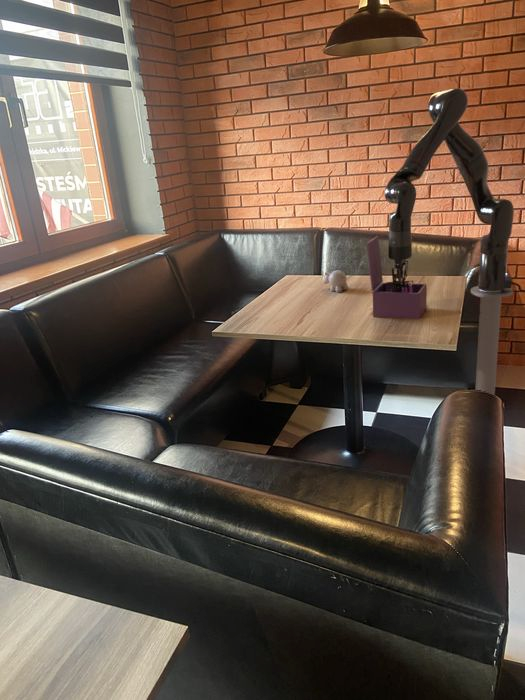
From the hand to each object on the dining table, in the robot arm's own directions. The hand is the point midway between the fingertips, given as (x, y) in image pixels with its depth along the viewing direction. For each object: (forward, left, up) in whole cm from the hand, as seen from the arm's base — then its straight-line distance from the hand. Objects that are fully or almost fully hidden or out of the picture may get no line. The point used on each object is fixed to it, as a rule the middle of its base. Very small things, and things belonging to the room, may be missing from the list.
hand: (400, 293), depth 184 cm
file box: (0, 0, -7) cm, 7 cm away
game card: (0, 0, -2) cm, 3 cm away
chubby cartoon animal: (+33, -26, -7) cm, 43 cm away
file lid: (+8, 0, +10) cm, 13 cm away
